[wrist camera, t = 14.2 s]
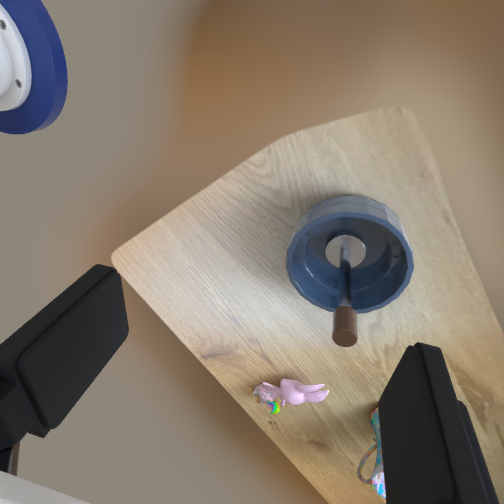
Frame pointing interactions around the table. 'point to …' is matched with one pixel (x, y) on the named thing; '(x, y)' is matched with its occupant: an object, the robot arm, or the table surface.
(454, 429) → the robot arm
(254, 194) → the table surface
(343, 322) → the wood-topped metal stand
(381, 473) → the mug
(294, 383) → the rabbit figure
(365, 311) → the bowl
